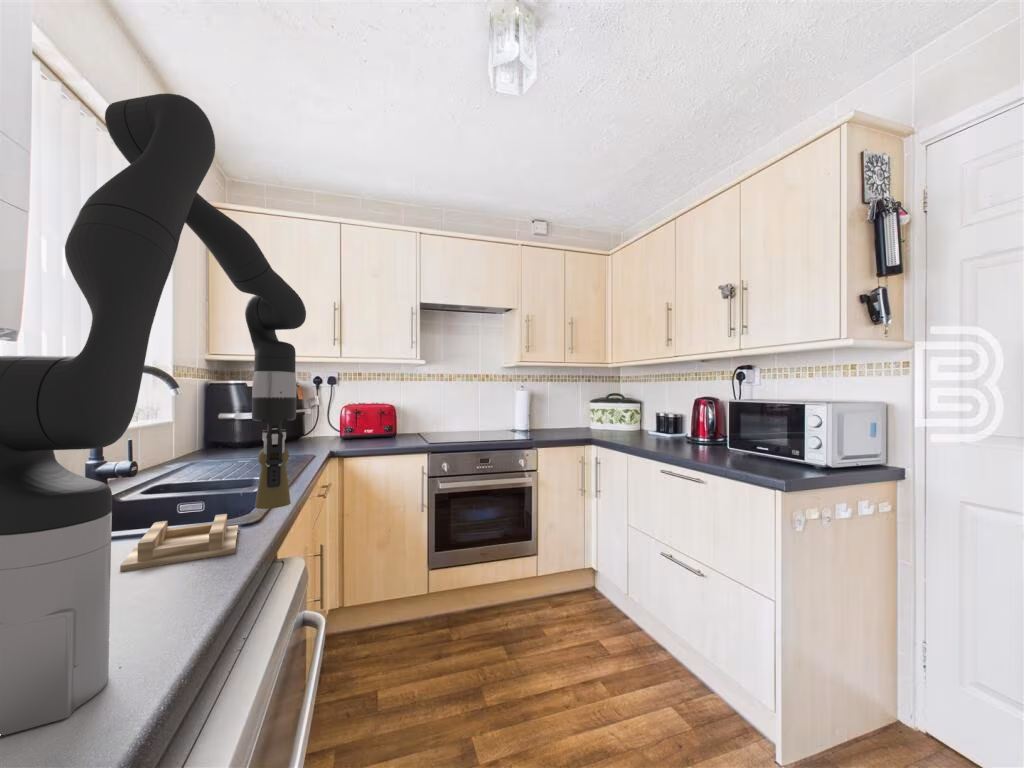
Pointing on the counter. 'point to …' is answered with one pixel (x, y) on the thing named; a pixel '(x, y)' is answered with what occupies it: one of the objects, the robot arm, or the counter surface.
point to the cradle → (182, 543)
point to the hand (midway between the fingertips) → (273, 484)
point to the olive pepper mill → (273, 495)
